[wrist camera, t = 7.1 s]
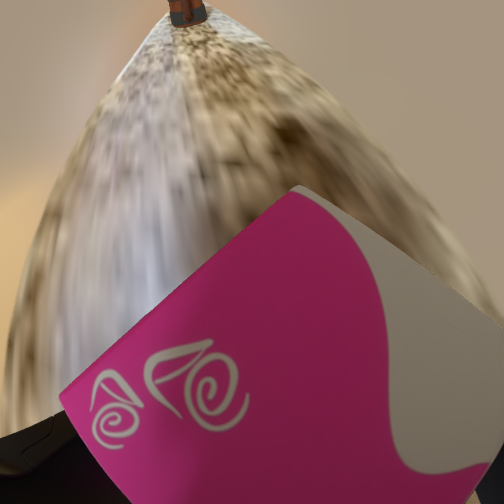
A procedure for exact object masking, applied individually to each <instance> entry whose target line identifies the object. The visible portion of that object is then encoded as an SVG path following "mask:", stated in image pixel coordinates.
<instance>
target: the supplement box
mask: <svg viewBox="0 0 504 504" xmlns="http://www.w3.org/2000/svg"><path fill="white" fill-rule="evenodd" d="M58 398H59V400H60V402H61V404H62V406H63V408H64V410H65V412H66V414H67V416H68V417H69V419H70V421H71V423H72V424H73V426H74V427H75V429H76V430H77V432H78V434H79V436H80V437H81V438H82V440H83V441H84V443H85V444H86V446H87V448H88V449H89V451H90V452H91V453H92V455H93V456H94V458H95V459H96V460H97V462H98V463H99V464H100V466H101V467H102V468H103V470H104V471H105V472H106V473H107V475H108V476H109V477H110V478H111V480H112V481H113V482H114V483H115V484H116V486H117V487H118V488H119V489H120V490H121V491H122V492H123V494H124V495H125V496H126V497H127V498H128V499H129V500H130V502H131V503H132V504H465V503H466V501H467V500H468V499H469V497H470V496H471V494H472V493H473V492H474V490H475V489H476V487H477V486H478V484H479V483H480V481H481V480H482V478H483V477H484V475H485V474H486V472H487V471H488V469H489V468H490V466H491V464H492V463H493V461H494V459H495V458H496V456H497V454H498V453H499V451H500V449H501V447H502V445H503V443H504V329H503V328H502V327H500V326H499V325H498V324H497V323H496V322H494V321H493V320H492V319H491V318H489V317H488V316H487V315H486V314H484V313H483V312H482V311H481V310H479V309H478V308H477V307H475V306H474V305H473V304H472V303H470V302H469V301H468V300H466V299H465V298H464V297H463V296H461V295H460V294H459V293H457V292H456V291H455V290H453V289H452V288H451V287H449V286H448V285H447V284H445V283H444V282H443V281H441V280H440V279H439V278H438V277H436V276H435V275H434V274H432V273H431V272H430V271H428V270H427V269H425V268H424V267H423V266H421V265H420V264H419V263H417V262H416V261H415V260H413V259H412V258H411V257H409V256H408V255H407V254H405V253H404V252H402V251H401V250H400V249H398V248H397V247H395V246H394V245H393V244H391V243H390V242H388V241H387V240H385V239H384V238H383V237H381V236H380V235H378V234H377V233H375V232H374V231H373V230H371V229H370V228H368V227H367V226H365V225H364V224H362V223H361V222H359V221H358V220H356V219H355V218H353V217H352V216H350V215H349V214H347V213H345V212H344V211H342V210H341V209H339V208H338V207H336V206H335V205H333V204H332V203H330V202H329V201H327V200H326V199H324V198H322V197H320V196H319V195H317V194H316V193H314V192H313V191H311V190H309V189H308V188H306V187H304V186H301V185H297V186H295V187H293V188H292V189H291V190H290V191H289V192H288V193H287V194H286V195H284V196H283V197H282V198H280V199H279V200H278V201H277V202H275V203H274V204H273V205H272V206H271V207H269V208H268V209H267V210H266V211H265V212H264V213H263V214H262V215H261V216H259V217H258V218H257V219H255V220H254V221H253V222H252V223H251V224H250V225H248V226H247V227H246V228H245V229H244V230H243V231H241V232H240V233H239V234H238V235H237V236H236V237H234V238H233V239H232V240H231V241H230V242H229V243H227V244H226V245H225V246H224V247H223V248H222V249H220V250H219V251H218V252H217V253H216V254H215V255H214V256H212V257H211V258H210V259H209V260H208V261H207V262H206V263H204V264H203V265H202V266H201V267H200V268H199V269H197V270H196V271H195V272H194V273H193V274H192V275H191V276H189V277H188V278H187V279H186V280H185V281H184V282H183V283H182V284H180V285H179V286H178V287H177V288H176V289H175V290H174V291H173V292H172V293H170V294H169V295H168V296H167V297H166V298H165V299H164V300H163V301H162V302H160V303H159V304H158V305H157V306H156V307H155V308H154V309H153V310H151V311H150V312H149V313H148V314H146V315H145V316H144V317H143V318H142V319H141V320H140V321H139V322H138V323H137V324H136V325H134V326H133V327H132V328H131V329H130V330H129V331H128V332H127V333H126V334H124V335H123V336H122V337H121V338H120V339H119V340H118V341H117V342H116V343H114V344H113V345H112V346H111V347H110V348H109V349H108V350H107V351H105V352H104V353H103V354H102V355H101V356H100V357H99V358H98V359H97V360H96V361H95V362H93V363H92V364H91V365H90V366H89V367H88V368H87V369H86V370H85V371H84V372H83V373H82V374H81V375H79V376H78V377H77V378H76V379H75V380H74V381H73V382H72V383H71V384H70V385H69V386H68V387H67V388H66V389H65V390H64V391H63V392H61V393H60V394H59V397H58Z"/></svg>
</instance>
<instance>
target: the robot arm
mask: <svg viewBox="0 0 504 504" xmlns="http://www.w3.org/2000/svg"><path fill="white" fill-rule="evenodd" d="M475 491H476V493H477V496H478V498H479V501H480V503H481V504H504V443H503V445H502V447H501V449H500V451H499V453H498V454H497V456H496V458H495V459H494V461H493V463H492V464H491V466H490V468H489V469H488V471H487V472H486V474H485V475H484V477H483V478H482V480H481V481H480V483H479V484H478V486H477V487H476V489H475ZM0 504H132V503H131V502H130V500H129V499H128V498H127V497H126V496H125V495H124V494H123V492H122V491H121V490H120V489H119V488H118V487H117V486H116V484H115V483H114V482H113V481H112V480H111V478H110V477H109V476H108V475H107V473H106V472H105V471H104V470H103V468H102V467H101V466H100V464H99V463H98V462H97V460H96V459H95V458H94V456H93V455H92V453H91V452H90V451H89V449H88V448H87V446H86V444H85V443H84V441H83V440H82V438H81V437H80V436H79V434H78V432H77V430H76V429H75V427H74V426H73V424H72V423H71V421H70V419H69V417H68V416H67V414H66V412H65V410H63V411H61V412H59V413H57V414H55V415H54V417H53V416H51V417H49V418H47V419H45V420H43V421H41V422H39V423H37V424H35V425H32V426H30V427H28V428H26V429H23V430H21V431H18V432H16V433H13V434H10V435H8V436H5V437H2V438H0Z"/></svg>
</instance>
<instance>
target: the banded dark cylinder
mask: <svg viewBox="0 0 504 504" xmlns="http://www.w3.org/2000/svg"><path fill="white" fill-rule="evenodd" d="M168 1H169V6H170V18H171V23H172V25H174V27H177V28H181V27H188V26H192V25H196V24H199V23H202V22H203V21H205V19H206V17H207V14H206V9H205V6H204V4H203V2H202V0H168Z"/></svg>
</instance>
